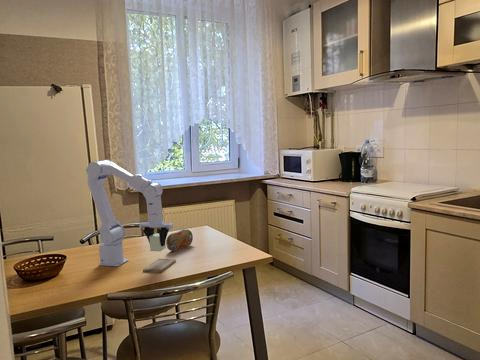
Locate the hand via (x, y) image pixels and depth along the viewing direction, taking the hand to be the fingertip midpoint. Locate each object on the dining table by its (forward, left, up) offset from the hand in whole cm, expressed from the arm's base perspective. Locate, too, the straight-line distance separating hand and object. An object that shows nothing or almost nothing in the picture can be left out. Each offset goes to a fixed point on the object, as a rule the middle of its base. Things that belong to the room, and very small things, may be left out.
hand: (157, 245), depth 158 cm
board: (+1, -1, -9) cm, 9 cm away
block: (0, 0, -2) cm, 2 cm away
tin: (-2, +22, -9) cm, 24 cm away
